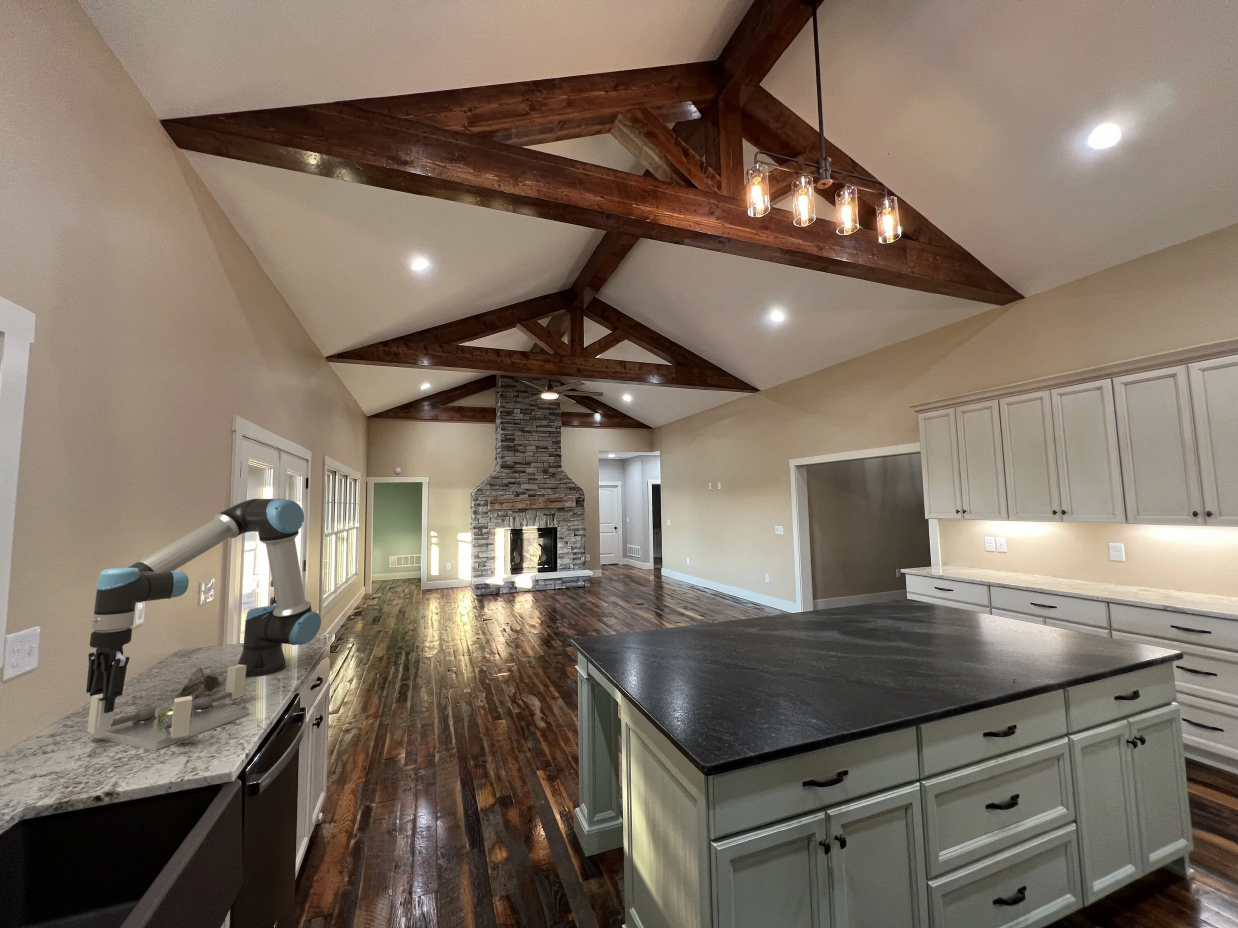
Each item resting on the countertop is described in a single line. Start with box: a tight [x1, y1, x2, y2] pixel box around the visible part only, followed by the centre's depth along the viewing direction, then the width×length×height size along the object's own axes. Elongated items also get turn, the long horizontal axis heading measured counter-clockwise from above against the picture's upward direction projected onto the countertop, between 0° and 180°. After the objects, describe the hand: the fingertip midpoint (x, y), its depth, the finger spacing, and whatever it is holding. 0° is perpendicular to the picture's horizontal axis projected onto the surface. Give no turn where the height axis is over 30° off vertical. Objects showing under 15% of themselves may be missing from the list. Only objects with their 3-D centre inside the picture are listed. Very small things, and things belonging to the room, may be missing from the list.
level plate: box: [91, 699, 249, 751], centre depth 135 cm, size 23×23×6 cm
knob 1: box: [87, 694, 157, 735], centre depth 130 cm, size 13×4×9 cm, turn 155°
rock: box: [171, 667, 222, 703], centre depth 159 cm, size 18×11×10 cm, turn 16°
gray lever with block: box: [194, 663, 246, 709], centre depth 147 cm, size 13×4×9 cm, turn 165°
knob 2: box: [167, 696, 192, 739], centre depth 128 cm, size 13×4×9 cm, turn 45°
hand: (100, 723), depth 126 cm, fingers closed on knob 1, 3 cm apart
